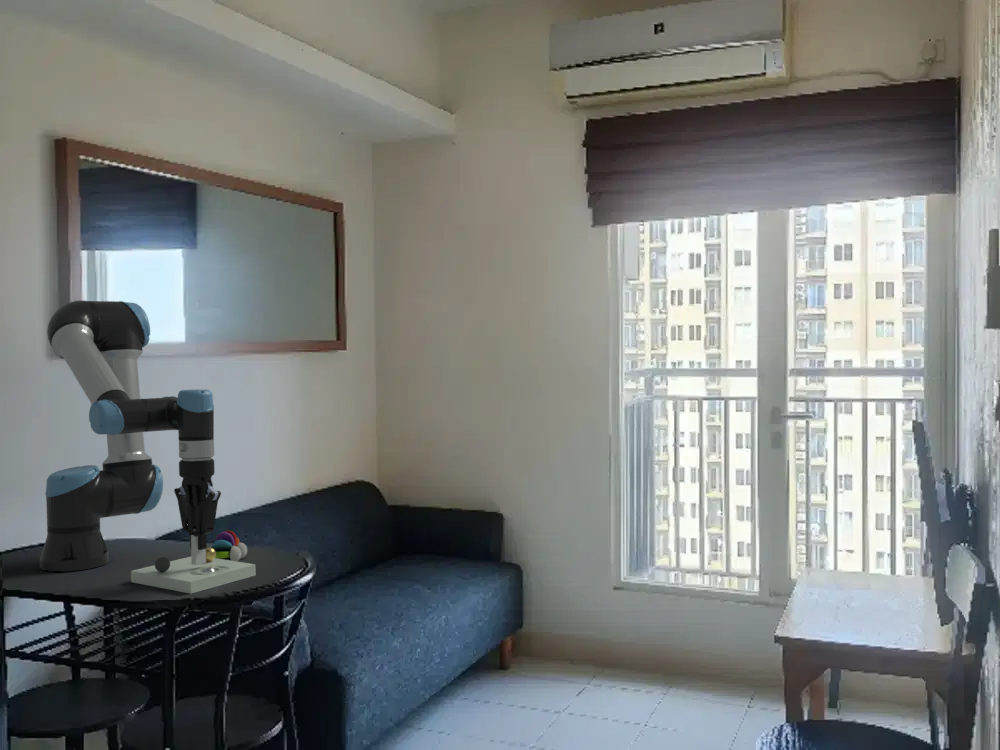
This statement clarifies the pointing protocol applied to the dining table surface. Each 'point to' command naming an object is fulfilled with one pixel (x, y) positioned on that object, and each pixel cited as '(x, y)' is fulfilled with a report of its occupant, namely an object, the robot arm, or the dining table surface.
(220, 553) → the rainbow disc rolling toy
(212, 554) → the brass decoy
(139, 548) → the dining table surface
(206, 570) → the steel ball
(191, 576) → the pale green flat slab
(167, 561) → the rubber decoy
